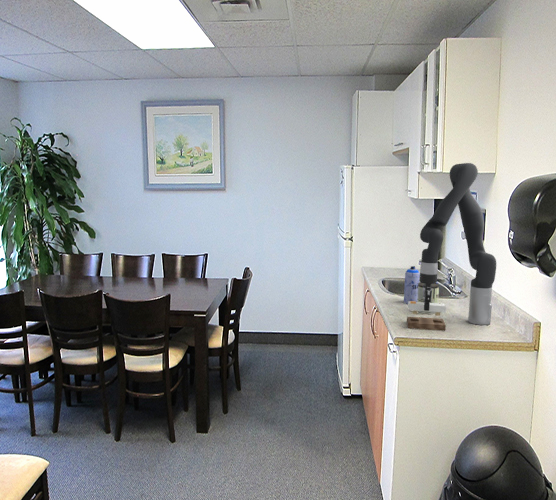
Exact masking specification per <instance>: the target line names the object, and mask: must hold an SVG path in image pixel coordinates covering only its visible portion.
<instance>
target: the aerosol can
mask: <svg viewBox="0 0 556 500" xmlns="http://www.w3.org/2000/svg"><path fill="white" fill-rule="evenodd" d="M419 279H420V270H418V269H417V268H416V265H415V266H414V265H413V266H410V268H408V269H407V270H406V271H405V273H404V291H403V293H404V294H403V295H404V296H403V303H404V304H405V305H408V301H416V302H417V298H418V283H420V281H419Z"/></svg>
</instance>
